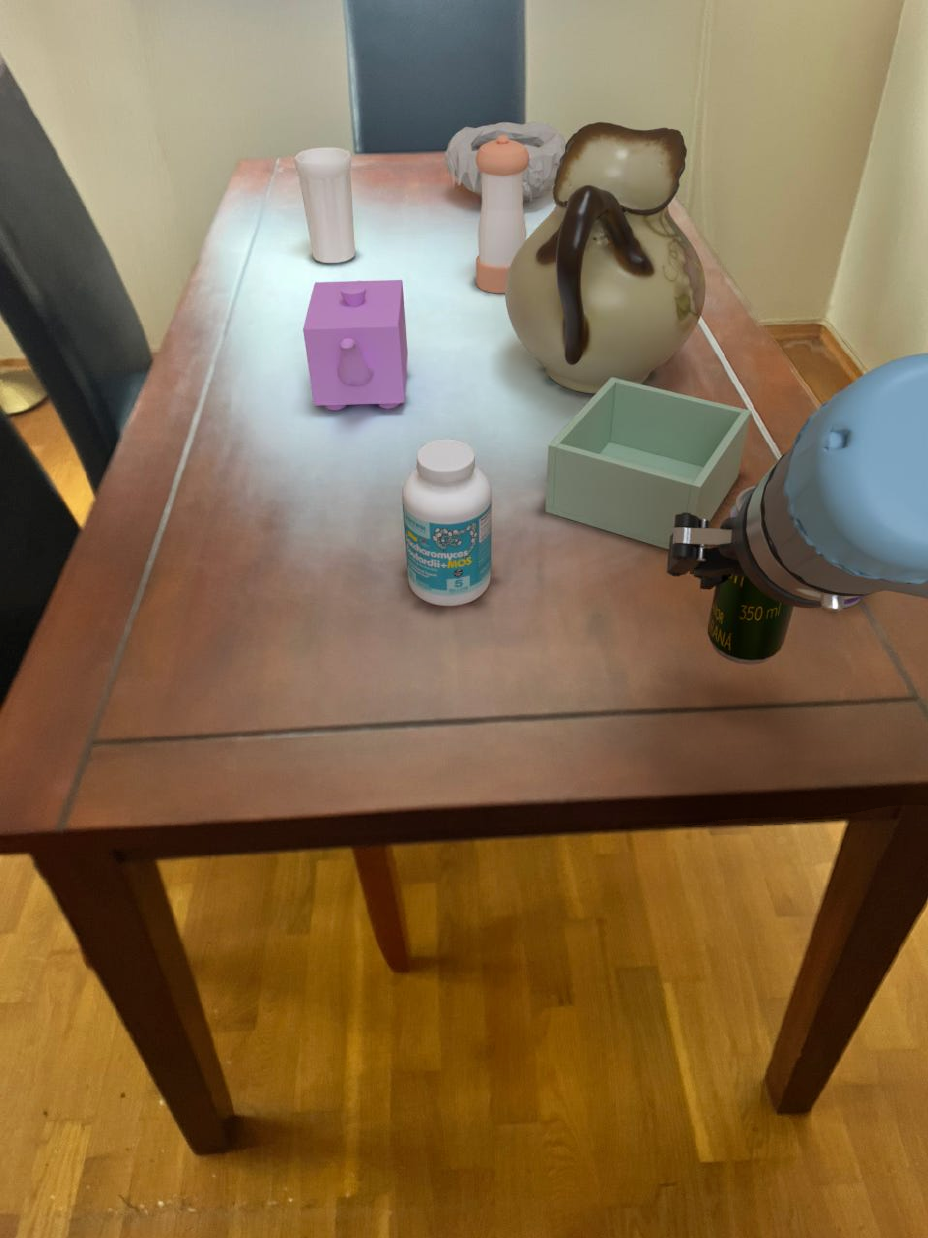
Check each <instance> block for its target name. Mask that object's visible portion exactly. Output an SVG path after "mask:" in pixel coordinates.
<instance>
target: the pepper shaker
mask: <svg viewBox="0 0 928 1238" xmlns="http://www.w3.org/2000/svg"><path fill="white" fill-rule="evenodd" d="M529 161H530V158H529V153H528V151H527V149H526V147H525V146H524V145H523V144H521V143H519V142H516V141H514V140H509V138H508V137H507V136H506V135H500V136H498V137H497V139H496V140H493V141H490V142H488V143H486V144H484V145H482V146H481V147H480V148H479V150H478V152H477V154H476V164H477V167H478V169H479V170H480V171H481V172H482V197H481V209H480V214H479V224H478V230H477V243H478V244H477V245H478V255H477V257H476V258H475V274H476V275H475V276H476V278H475V279H476V280H475V281H476V282H475V283H476V287H478V289H480V290H482V291H484V292H486V293H487V292H488V293H492V294H505V283H506V277H507V273H508V270H509V268H510V265H511V263H512V261H513V259H514V257H515V255H516V254H517V252H518V250H519V249H520V247H521V246H522V245H523V243H524V242H525V241H526V240H527V227H526V220H525V218H526V217H525V211H524V202H523V171H524V170H525V169H526V168H527V166H528V164H529Z"/></svg>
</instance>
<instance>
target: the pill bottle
mask: <svg viewBox="0 0 928 1238" xmlns="http://www.w3.org/2000/svg"><path fill="white" fill-rule="evenodd" d="M401 490H402V491H401V499H402V501H401V502H402V513H403V514H402V515H403V527H404V541H405V542H404V543H405V554H406V556H405V557H406V571H407V572H406V573H407V581H408V585H409V587H410V589H411V591H412V592H413V593H414V595H416V596H417V597H418V598H419V599H421V600H423V601H424V602H427V603H429V604H431V605H436V606H443V607H456V606H462V605H465V604H468V603H471V602H473V601H475V600H477V599H479V597H481V596H482V595H483V594H484V593H485V592H486V591H487V589H488V588H489V585H490V583H491V578H492V511H493V509H492V508H493V506H492V505H493V501H492V500H493V499H492V496H493V493H492V492H493V491H492V484H491V482H490V480H489V477H488V476H487V475H486V474H485V472H484V471H483V470H482V469H480V468H479V467H478V466H477V465H476V454H475V451H474V449H473V448H472V447H471V445H469V444H468V443H467V442H464V441H461V440H458V439H452V438H441V439H435V440H431V441H429V442H427V443H425V444H423V445H422V446H420V448H419V449H418V450H417V453H416V468H414V469H413V470H412V471H411V472H410V473H408V476H407V477H406V478H405V480H404V482H403V485H402V489H401Z"/></svg>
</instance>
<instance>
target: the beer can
mask: <svg viewBox="0 0 928 1238" xmlns="http://www.w3.org/2000/svg"><path fill="white" fill-rule="evenodd" d="M756 486H757V484H756V485H752V486H750V487H747V488H745V489H743V490H742V491H740V492H739V494H738V495H737V497H736V498H735V503H734V504H733V505H732V507H731V509H730V510H729V515H728V518H730V517H736V516H737V515H738V513H739V511H740V509H741V507H742V505H743V503H744V501H745V500H746V498H747V497H748V495H749V494H750V493H751V492H752V490H753V489H754V488H755V487H756ZM713 592H714V593H713V597H712V603H711V608H710V613H709V619H708V623H707V635H708V638H709V641H710V643H711V646H712V648H713V650H715V652H716V653H717V654H718V655H720V656H721V657H723V658H724V659H726V660H727V661H730V662H733V663H735V664H739V665H750V666H751V665H752V666H753V665H760V664H764V663H765V662H769V661H770V660H771V659H772V658H773V657H775V656H776V655H777V654H778V653H779V652H780V651H781V650H782V647H783V645H784V644H785V641H786V637H787V633H788V629H789V625H790V622H791V618H792V615H793V610H794V608H795V607H793V606H789V605H786V604H783V603H780V602H778V601H776V600H774V599H772V598H770V597H768V596H767V595H766V594H764V593H763V592H762V591H760V590H759V589H758V588H757V587H756V586H755V585H754V584H753V583H752V582H751V581H750V579H749V578H748V577H741V576H734V574H729V575H724V576H722V582H720V583H719V584H717V585H716V586H715V587H714V591H713Z"/></svg>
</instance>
